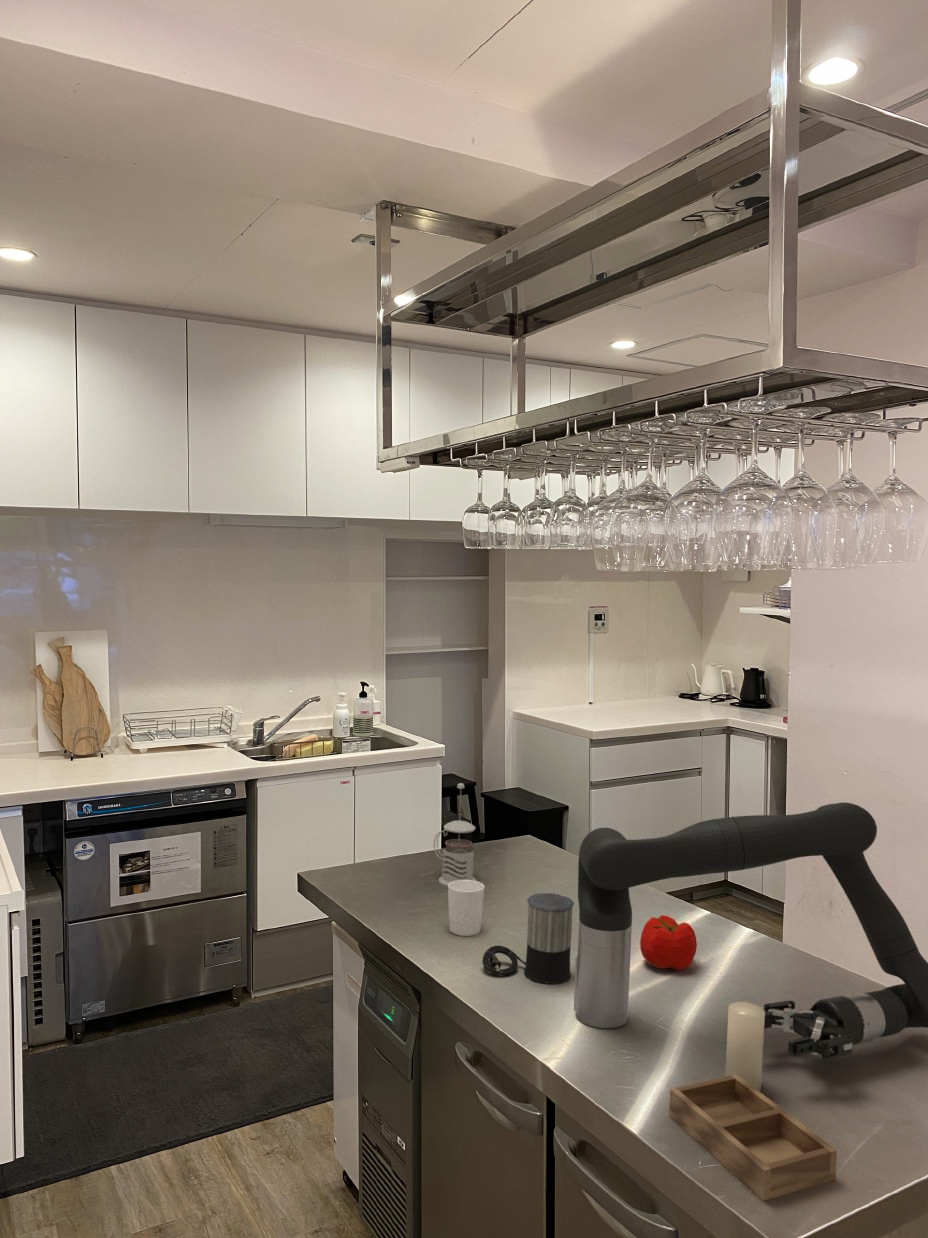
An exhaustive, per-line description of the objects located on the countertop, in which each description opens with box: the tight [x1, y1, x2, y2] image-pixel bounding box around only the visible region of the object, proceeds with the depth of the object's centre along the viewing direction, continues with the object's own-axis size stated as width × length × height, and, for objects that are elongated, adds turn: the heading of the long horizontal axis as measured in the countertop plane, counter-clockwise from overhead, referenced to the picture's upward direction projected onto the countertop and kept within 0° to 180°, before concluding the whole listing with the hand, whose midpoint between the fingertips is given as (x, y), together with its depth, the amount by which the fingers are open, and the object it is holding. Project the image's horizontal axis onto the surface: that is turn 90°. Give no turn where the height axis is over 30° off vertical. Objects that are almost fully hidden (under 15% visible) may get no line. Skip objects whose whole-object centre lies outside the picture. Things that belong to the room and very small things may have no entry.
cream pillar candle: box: [724, 1001, 765, 1093], centre depth 147 cm, size 5×5×12 cm
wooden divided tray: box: [668, 1074, 838, 1202], centre depth 131 cm, size 20×12×4 cm, turn 23°
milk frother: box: [481, 892, 575, 985], centre depth 185 cm, size 14×16×15 cm
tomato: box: [639, 914, 698, 971], centre depth 192 cm, size 11×12×9 cm
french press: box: [433, 782, 477, 887], centre depth 240 cm, size 10×12×25 cm
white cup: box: [447, 880, 485, 937], centre depth 206 cm, size 8×8×10 cm
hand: (770, 1035), depth 149 cm, fingers open, 8 cm apart
